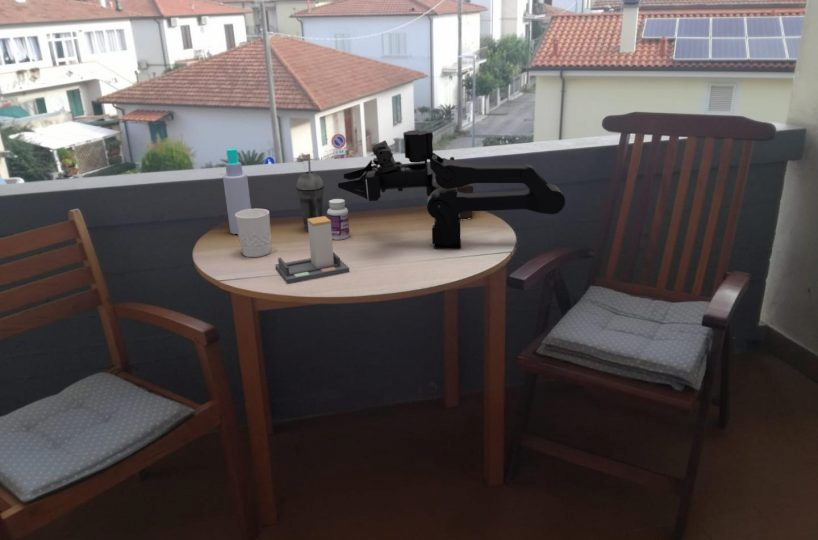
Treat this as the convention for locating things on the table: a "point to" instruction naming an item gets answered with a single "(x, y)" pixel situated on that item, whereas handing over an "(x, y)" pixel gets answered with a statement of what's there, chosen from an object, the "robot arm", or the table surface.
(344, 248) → the table surface
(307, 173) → the beverage cup
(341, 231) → the pill bottle
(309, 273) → the switch board
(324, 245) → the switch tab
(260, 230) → the white cup
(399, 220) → the table surface
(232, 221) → the spray bottle
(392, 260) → the table surface
